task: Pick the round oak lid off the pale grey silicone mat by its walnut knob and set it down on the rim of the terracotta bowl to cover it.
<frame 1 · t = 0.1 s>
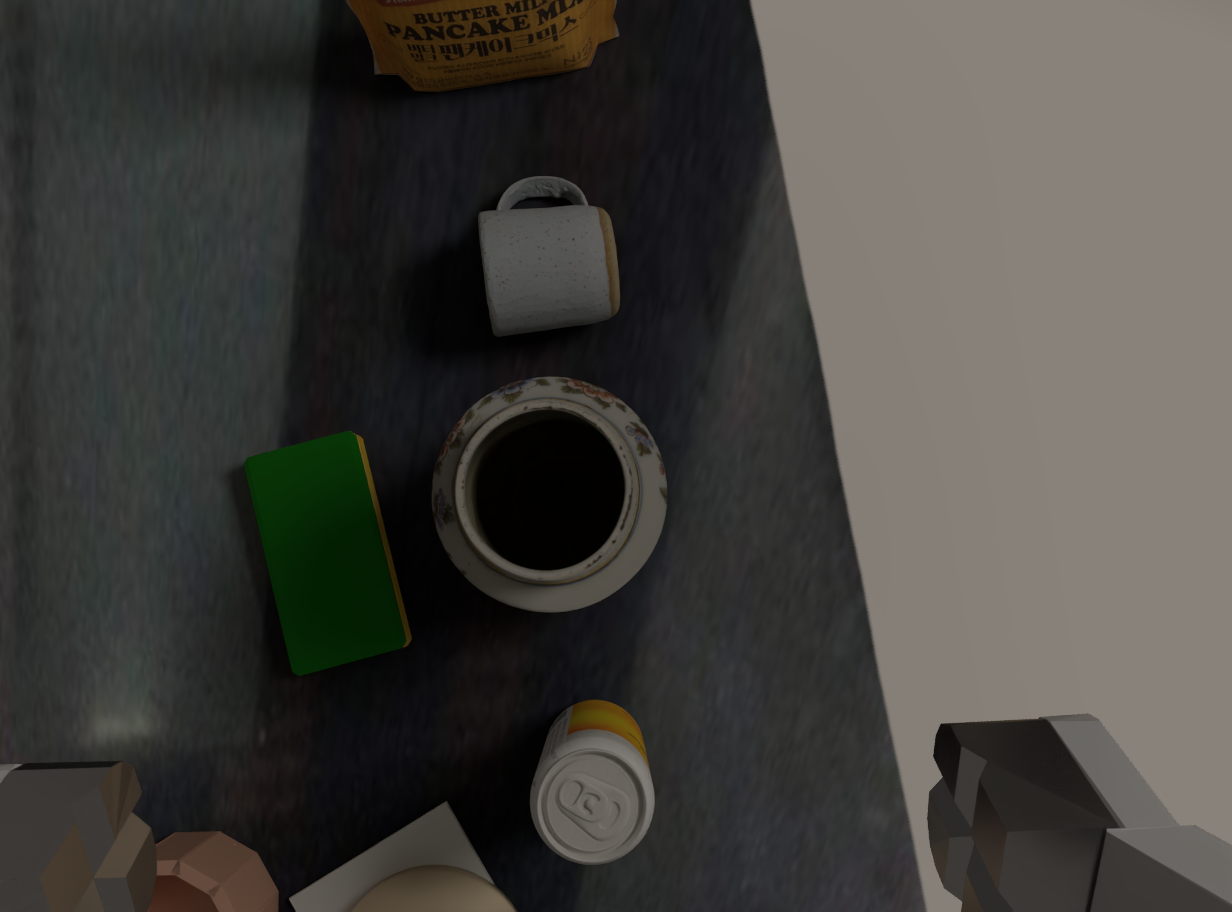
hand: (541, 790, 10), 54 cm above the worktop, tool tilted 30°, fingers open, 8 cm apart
beer can: (594, 747, 64), on the worktop
ceramic mug: (544, 266, 67), on the worktop
dish sponge: (335, 552, 65), on the worktop
pancake mix bag: (495, 42, 68), on the worktop
apothecary jar: (562, 505, 65), on the worktop
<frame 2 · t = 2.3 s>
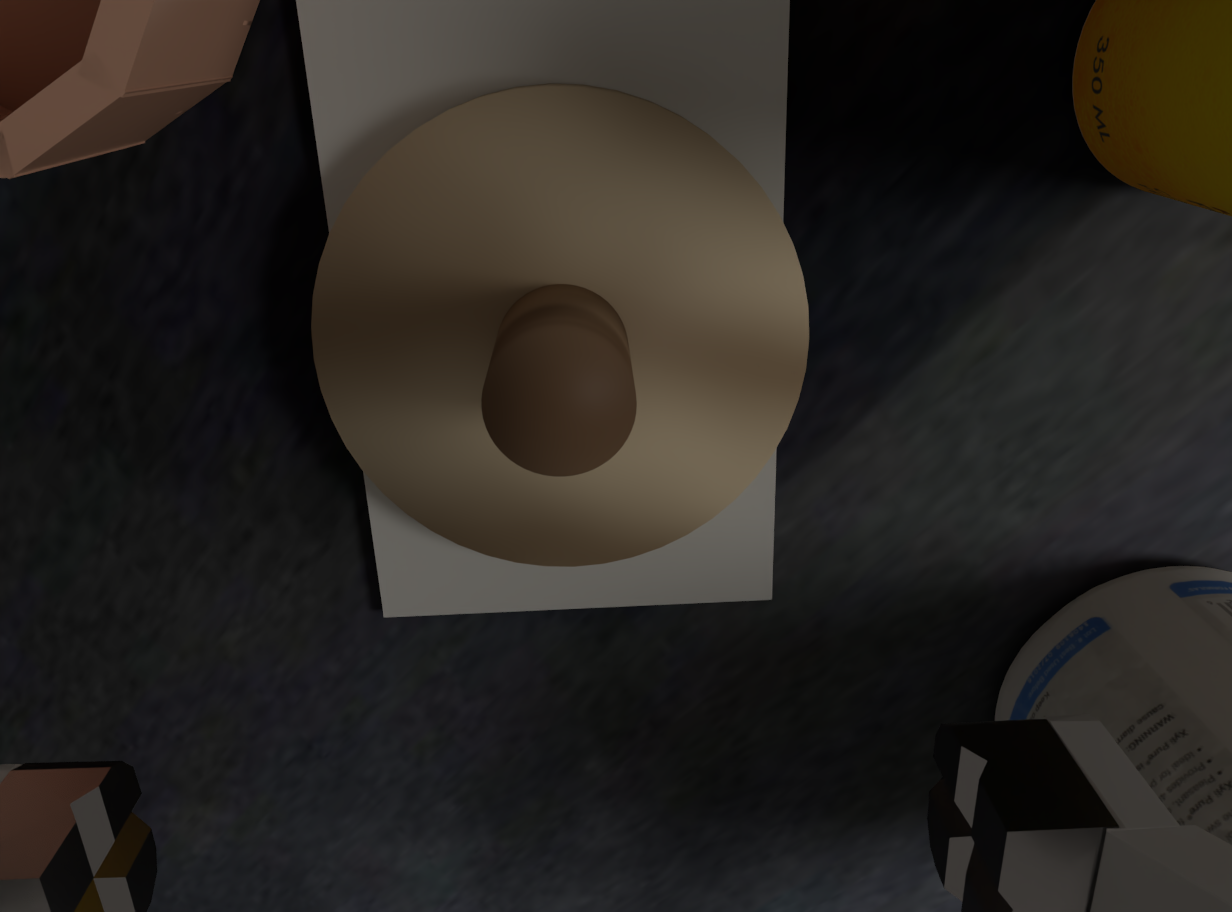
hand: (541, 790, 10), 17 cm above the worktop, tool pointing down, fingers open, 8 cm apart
mat: (563, 331, 26), on the worktop
lid: (563, 335, 26), resting on mat
beer can: (1180, 58, 24), on the worktop
supplement tub: (1138, 684, 31), on the worktop
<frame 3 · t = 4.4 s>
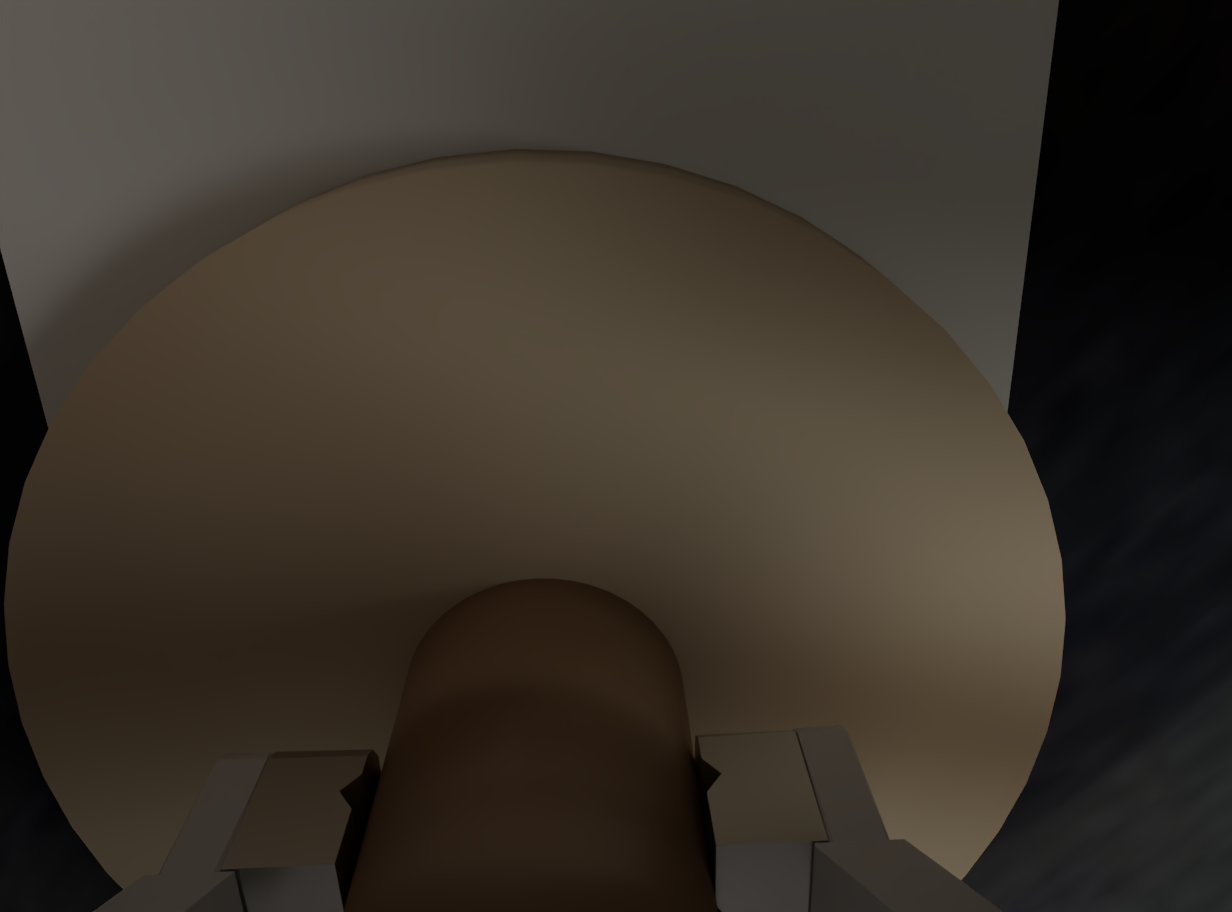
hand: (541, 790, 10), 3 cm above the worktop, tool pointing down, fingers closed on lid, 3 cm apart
mat: (549, 624, 13), on the worktop
lid: (548, 641, 13), resting on mat, touching gripper
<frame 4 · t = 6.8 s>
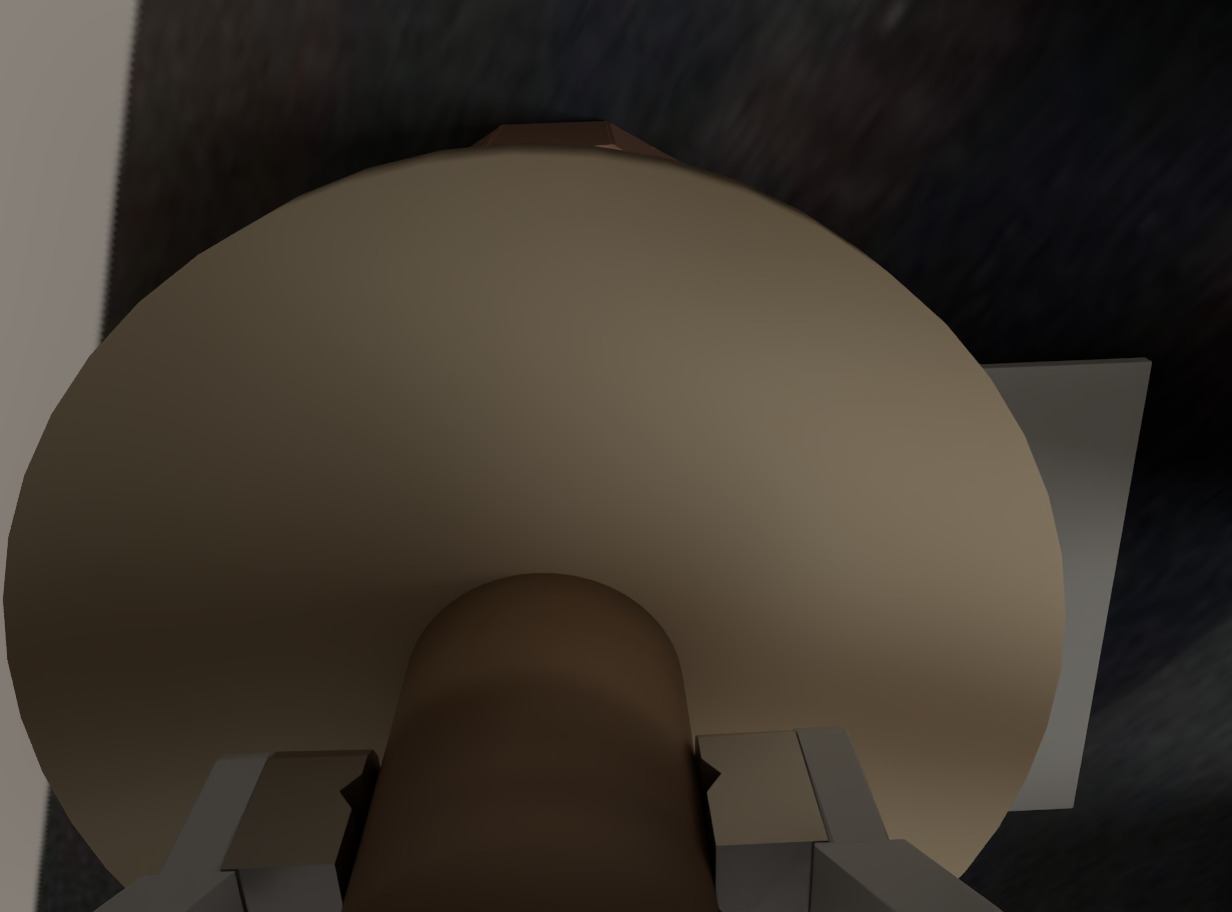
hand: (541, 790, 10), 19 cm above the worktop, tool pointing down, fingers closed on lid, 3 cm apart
mat: (929, 607, 32), on the worktop
bowl: (564, 312, 28), on the worktop
lid: (548, 636, 13), point 16 cm above the worktop, touching gripper
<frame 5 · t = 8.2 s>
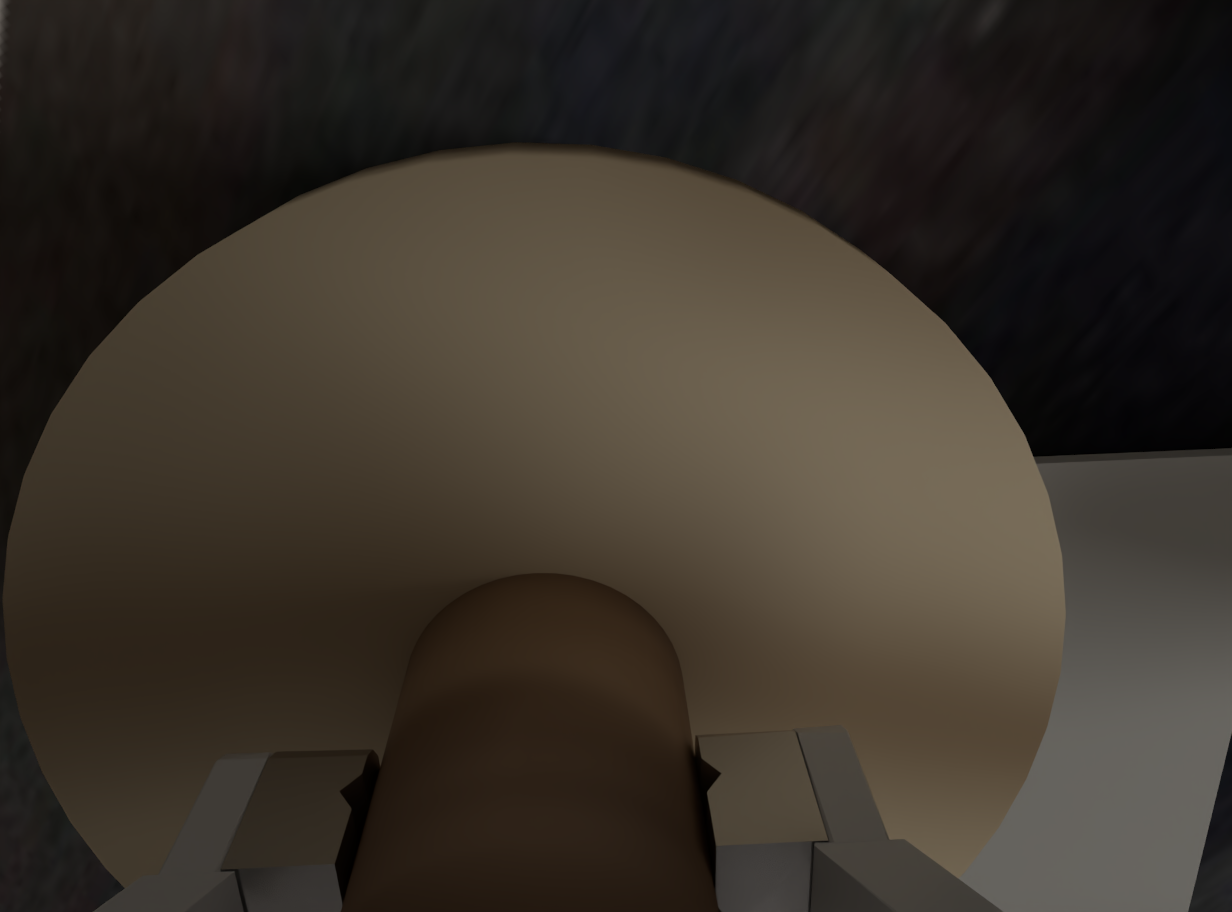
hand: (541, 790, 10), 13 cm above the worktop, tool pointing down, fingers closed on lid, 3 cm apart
mat: (1009, 742, 26), on the worktop
lid: (548, 636, 13), point 10 cm above the worktop, touching gripper
when the fingers open (10 cm above the worktop, at t = 9.1 s): lid drops 1 cm, resting on bowl.
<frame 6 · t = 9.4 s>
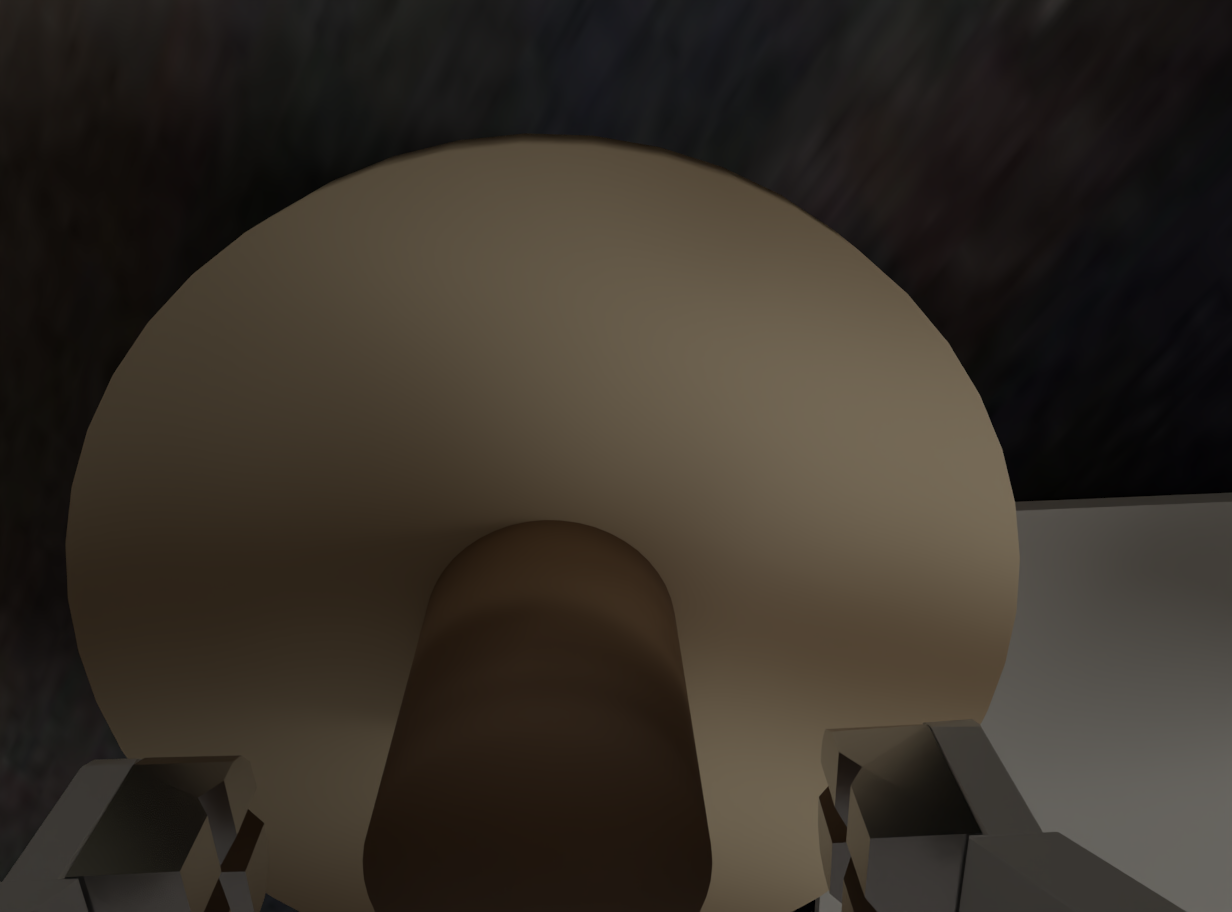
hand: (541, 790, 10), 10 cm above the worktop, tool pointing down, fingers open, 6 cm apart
mat: (1055, 808, 24), on the worktop
lid: (553, 584, 14), point 6 cm above the worktop, touching bowl
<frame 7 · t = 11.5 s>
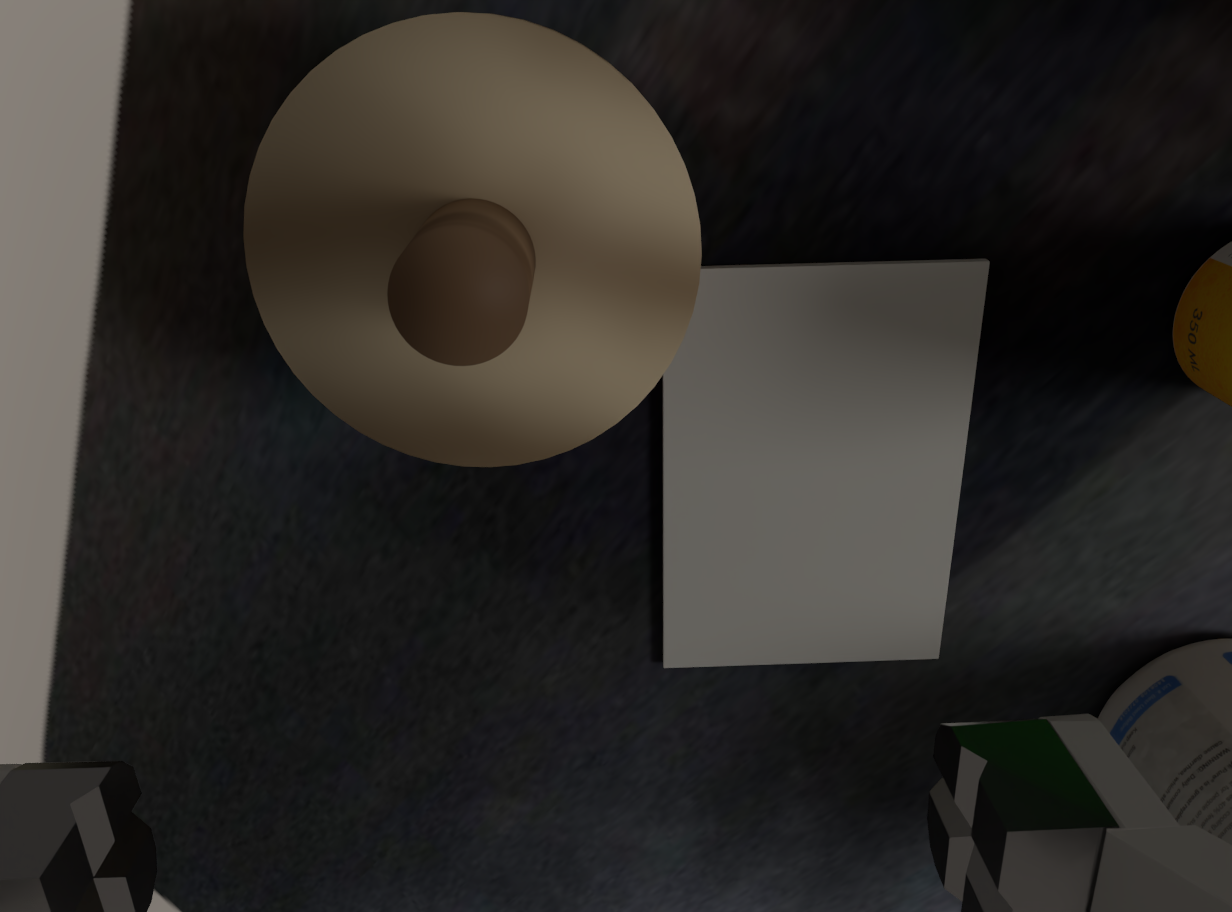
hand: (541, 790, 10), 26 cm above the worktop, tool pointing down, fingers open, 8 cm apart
mat: (810, 477, 38), on the worktop
lid: (479, 250, 28), point 6 cm above the worktop, touching bowl
supplement tub: (1193, 719, 43), on the worktop
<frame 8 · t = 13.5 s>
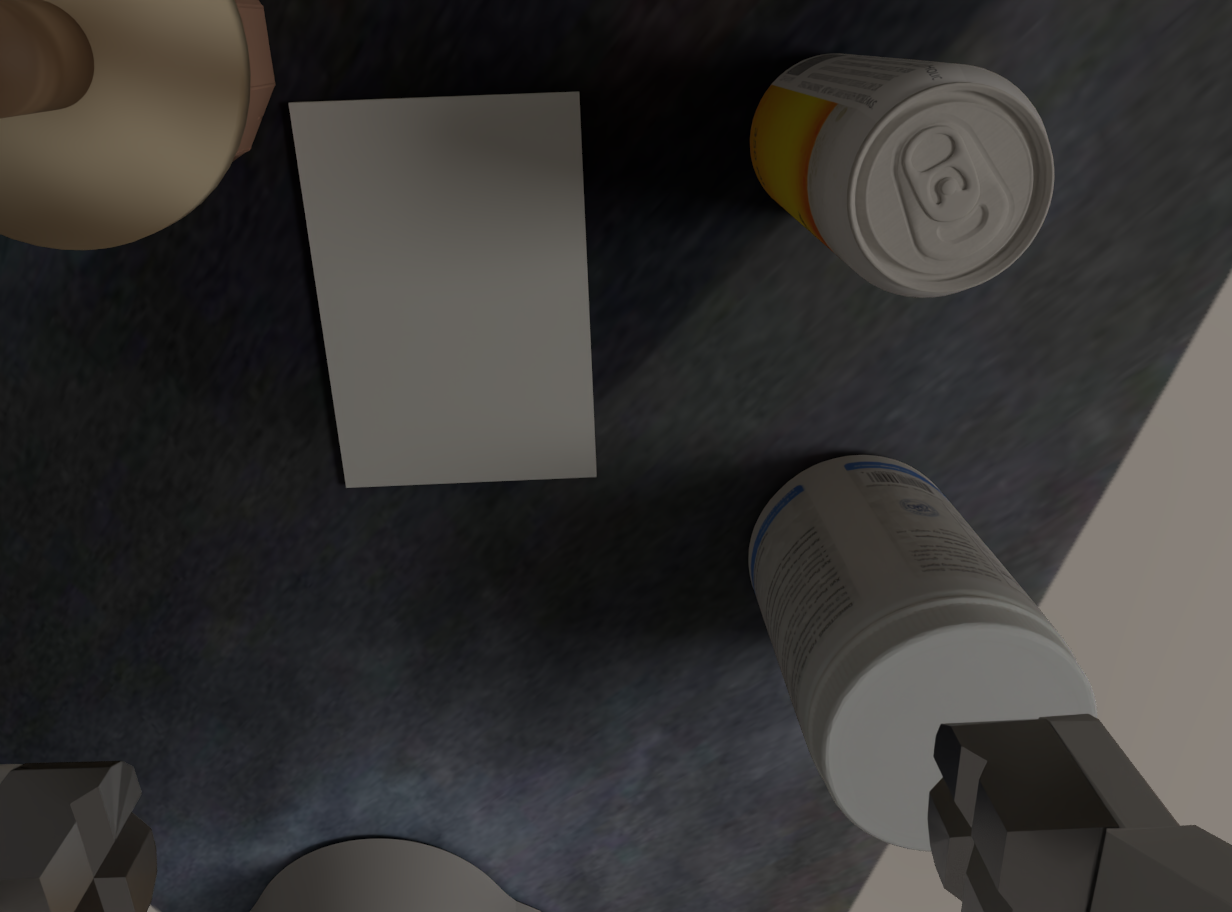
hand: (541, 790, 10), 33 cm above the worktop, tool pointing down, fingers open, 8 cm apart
mat: (455, 301, 42), on the worktop
bowl: (134, 51, 38), on the worktop
lid: (59, 54, 32), point 6 cm above the worktop, touching bowl
beer can: (822, 135, 40), on the worktop
supplement tub: (848, 539, 47), on the worktop
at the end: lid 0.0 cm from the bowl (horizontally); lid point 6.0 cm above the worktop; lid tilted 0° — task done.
